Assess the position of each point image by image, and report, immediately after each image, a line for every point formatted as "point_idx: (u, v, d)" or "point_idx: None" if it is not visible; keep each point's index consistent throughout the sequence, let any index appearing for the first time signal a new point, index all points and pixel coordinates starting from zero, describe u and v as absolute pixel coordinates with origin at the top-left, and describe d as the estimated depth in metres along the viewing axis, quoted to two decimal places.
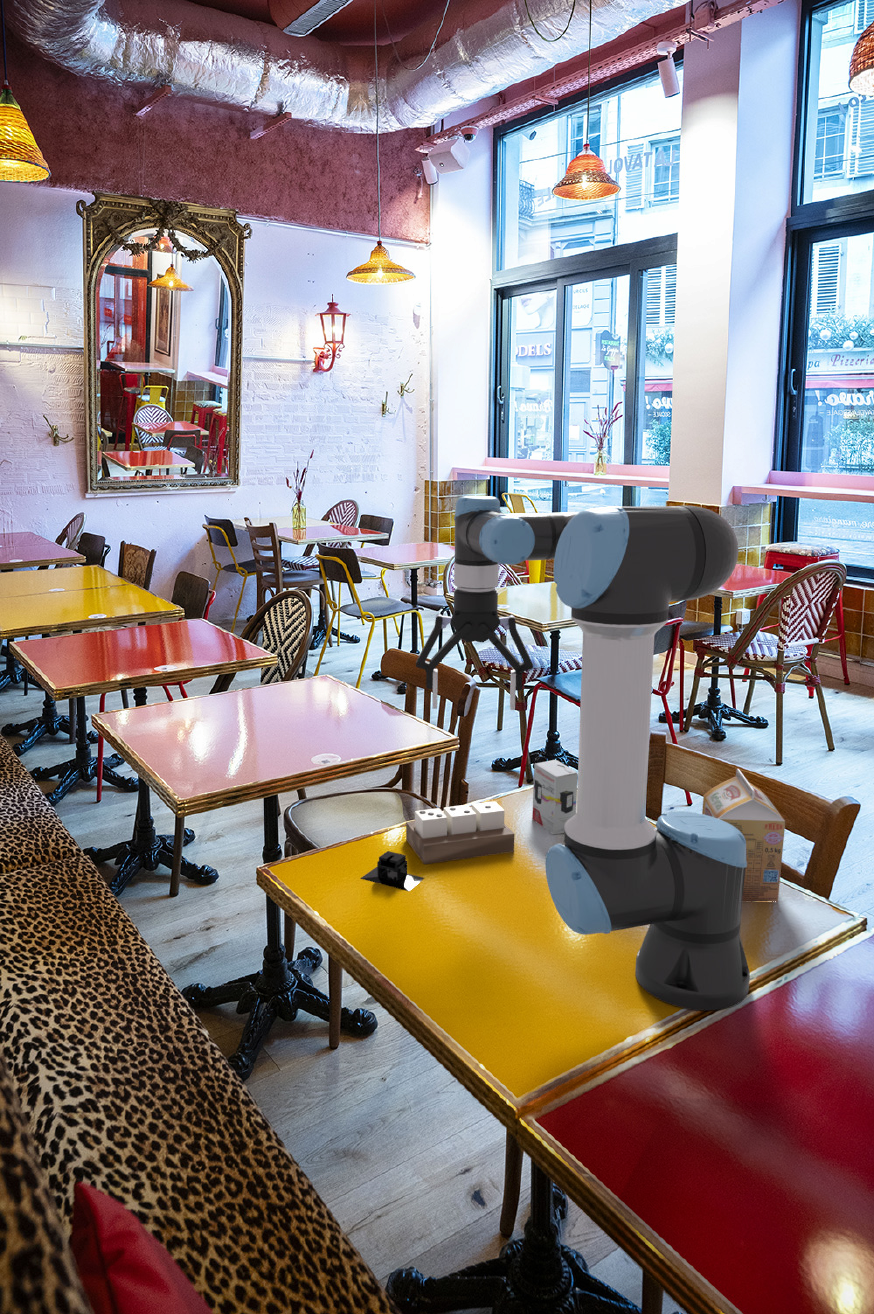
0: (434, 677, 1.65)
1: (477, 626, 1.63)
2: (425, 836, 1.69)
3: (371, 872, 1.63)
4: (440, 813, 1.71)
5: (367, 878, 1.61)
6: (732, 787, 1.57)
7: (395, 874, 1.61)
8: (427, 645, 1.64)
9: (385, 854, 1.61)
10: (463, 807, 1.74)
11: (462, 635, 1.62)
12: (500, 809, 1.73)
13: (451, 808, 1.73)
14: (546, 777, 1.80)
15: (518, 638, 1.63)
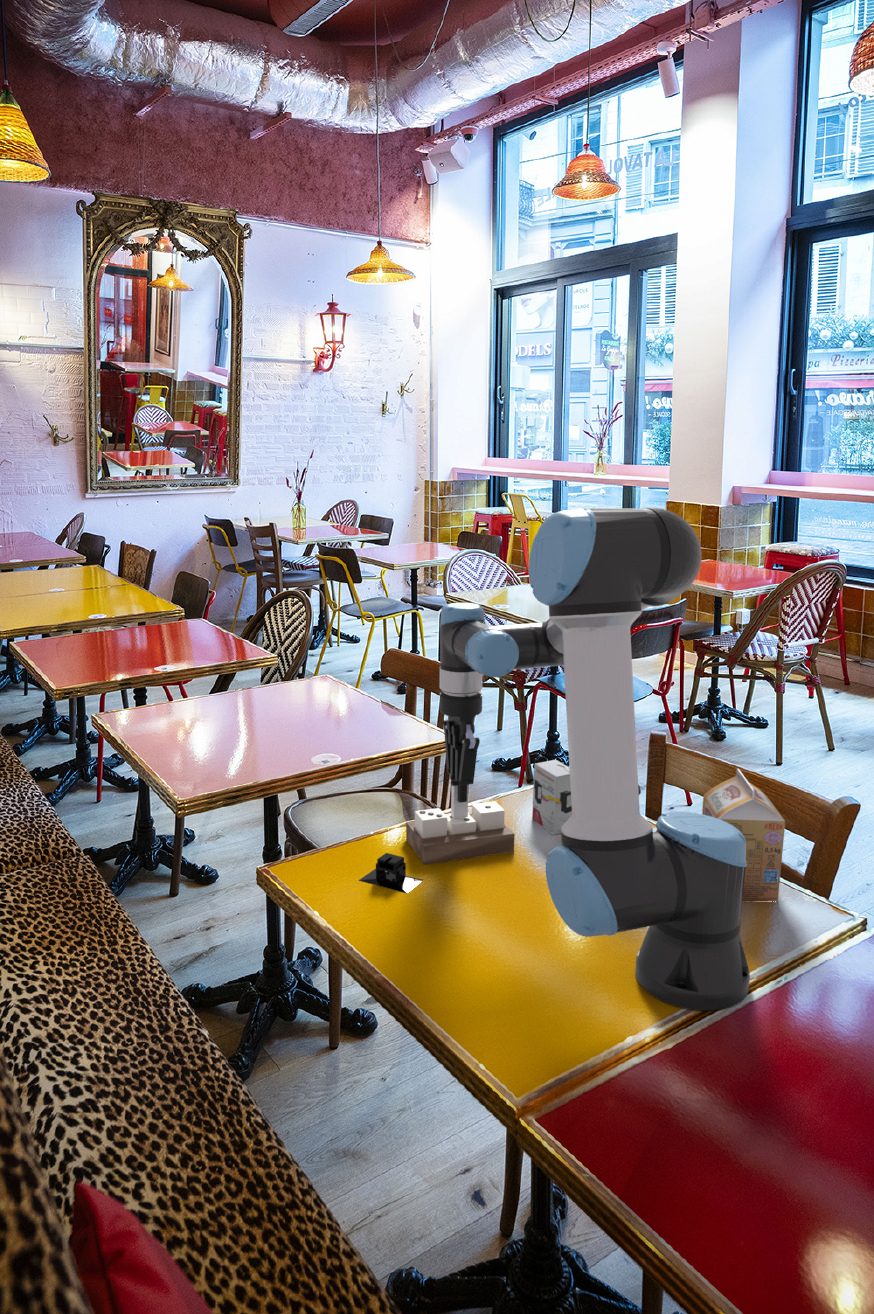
0: (451, 786, 1.72)
1: (455, 724, 1.68)
2: (425, 836, 1.69)
3: (369, 874, 1.62)
4: (440, 813, 1.71)
5: (365, 880, 1.60)
6: (732, 787, 1.57)
7: (394, 876, 1.60)
8: (446, 750, 1.74)
9: (383, 856, 1.60)
10: None
11: (449, 734, 1.70)
12: (500, 809, 1.73)
13: (451, 816, 1.73)
14: (546, 777, 1.80)
15: (463, 757, 1.65)
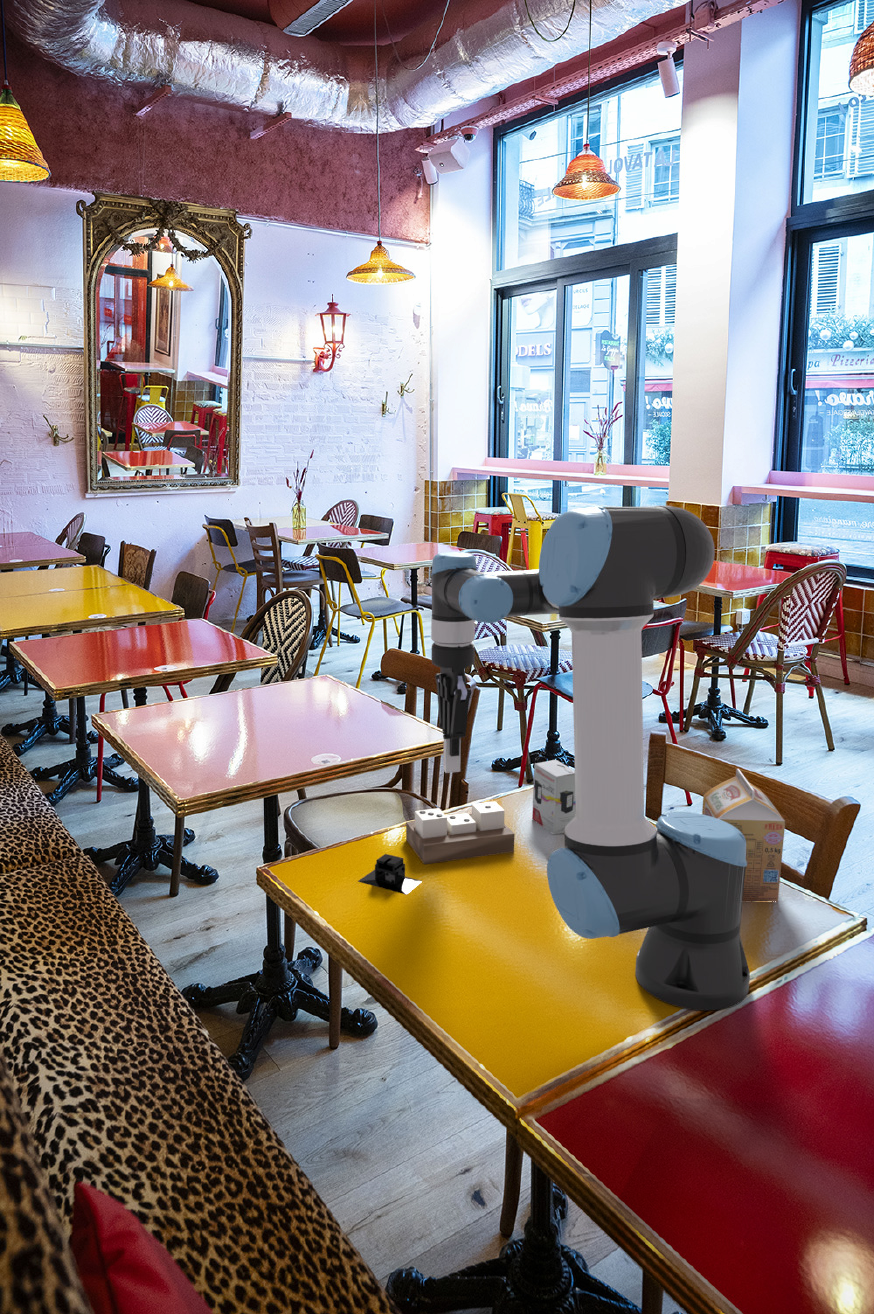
0: (444, 740, 1.69)
1: (447, 676, 1.66)
2: (425, 836, 1.69)
3: (368, 875, 1.62)
4: (440, 813, 1.71)
5: (364, 881, 1.59)
6: (732, 787, 1.57)
7: (393, 877, 1.60)
8: (438, 704, 1.71)
9: (383, 857, 1.60)
10: (463, 816, 1.74)
11: (441, 687, 1.67)
12: (500, 809, 1.73)
13: (451, 817, 1.73)
14: (546, 777, 1.80)
15: (454, 708, 1.63)
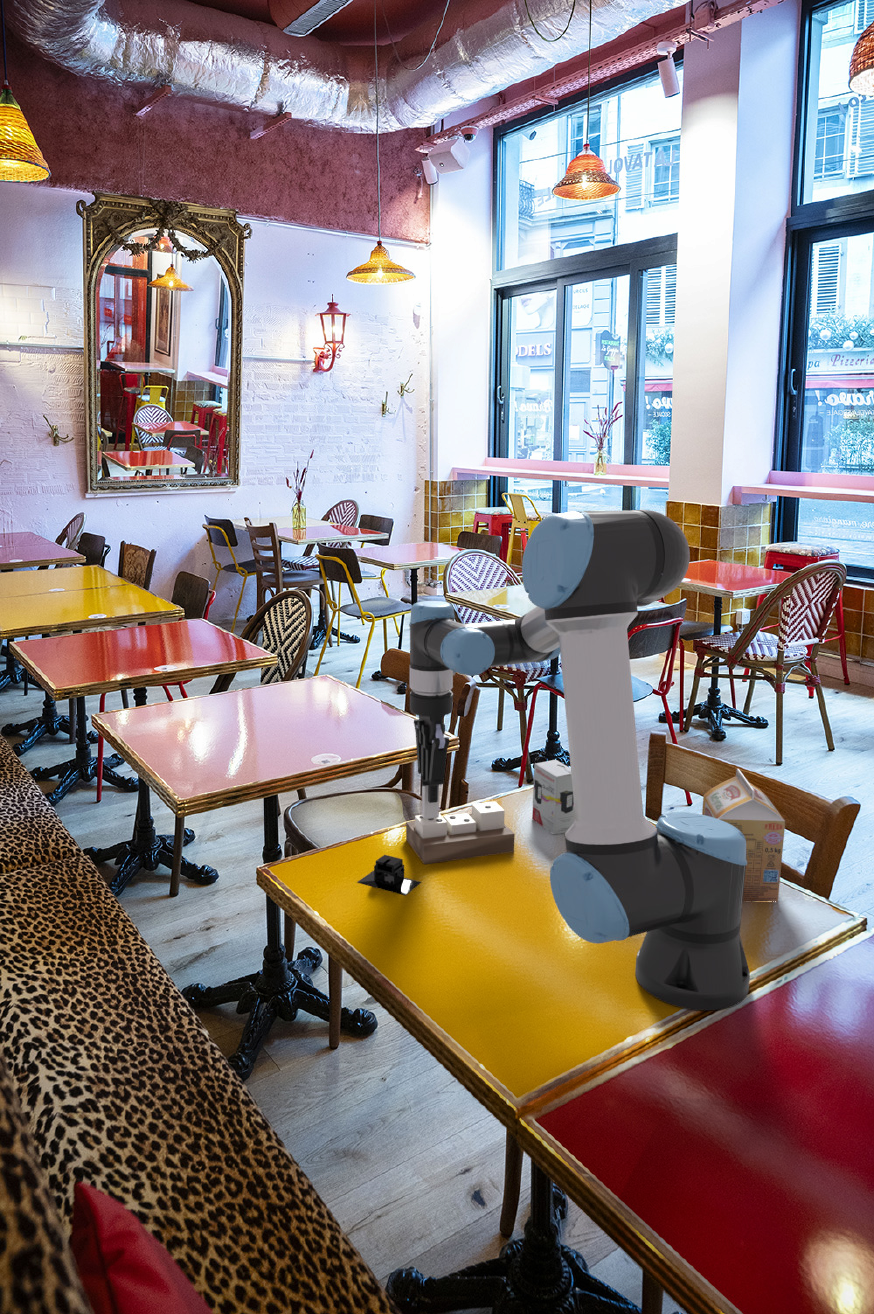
0: (422, 787, 1.70)
1: (426, 723, 1.66)
2: None
3: (367, 876, 1.62)
4: (440, 818, 1.71)
5: (363, 882, 1.59)
6: (732, 787, 1.57)
7: (392, 878, 1.60)
8: (417, 749, 1.72)
9: (382, 858, 1.59)
10: (463, 816, 1.74)
11: (420, 734, 1.68)
12: (500, 809, 1.73)
13: (451, 817, 1.73)
14: (546, 777, 1.80)
15: (432, 757, 1.63)
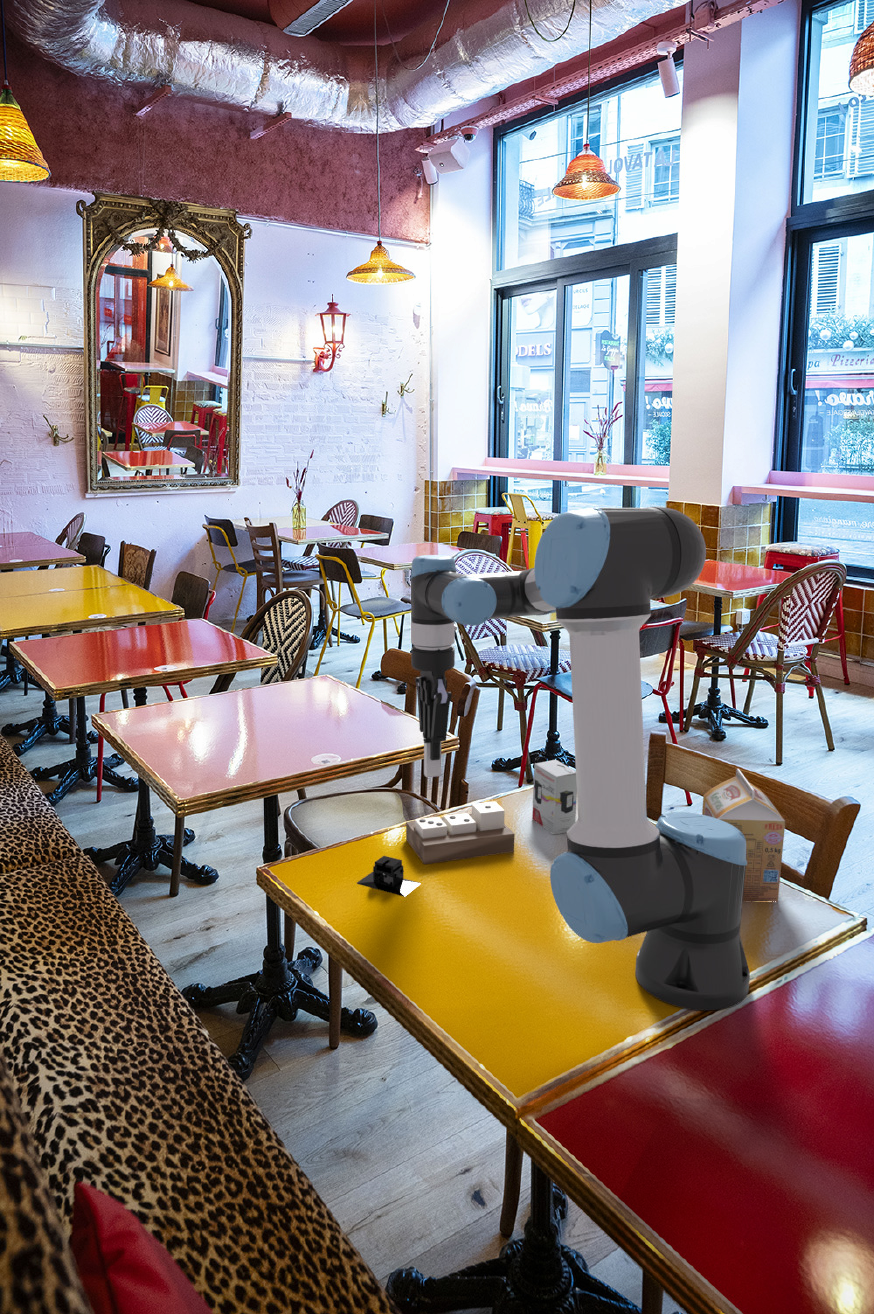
0: (424, 744, 1.68)
1: (427, 679, 1.64)
2: None
3: (367, 877, 1.61)
4: (440, 822, 1.71)
5: (362, 883, 1.59)
6: (732, 787, 1.57)
7: (391, 879, 1.59)
8: (418, 708, 1.70)
9: (381, 859, 1.59)
10: (463, 816, 1.74)
11: (421, 690, 1.66)
12: (500, 809, 1.73)
13: (451, 817, 1.73)
14: (546, 777, 1.80)
15: (434, 712, 1.62)
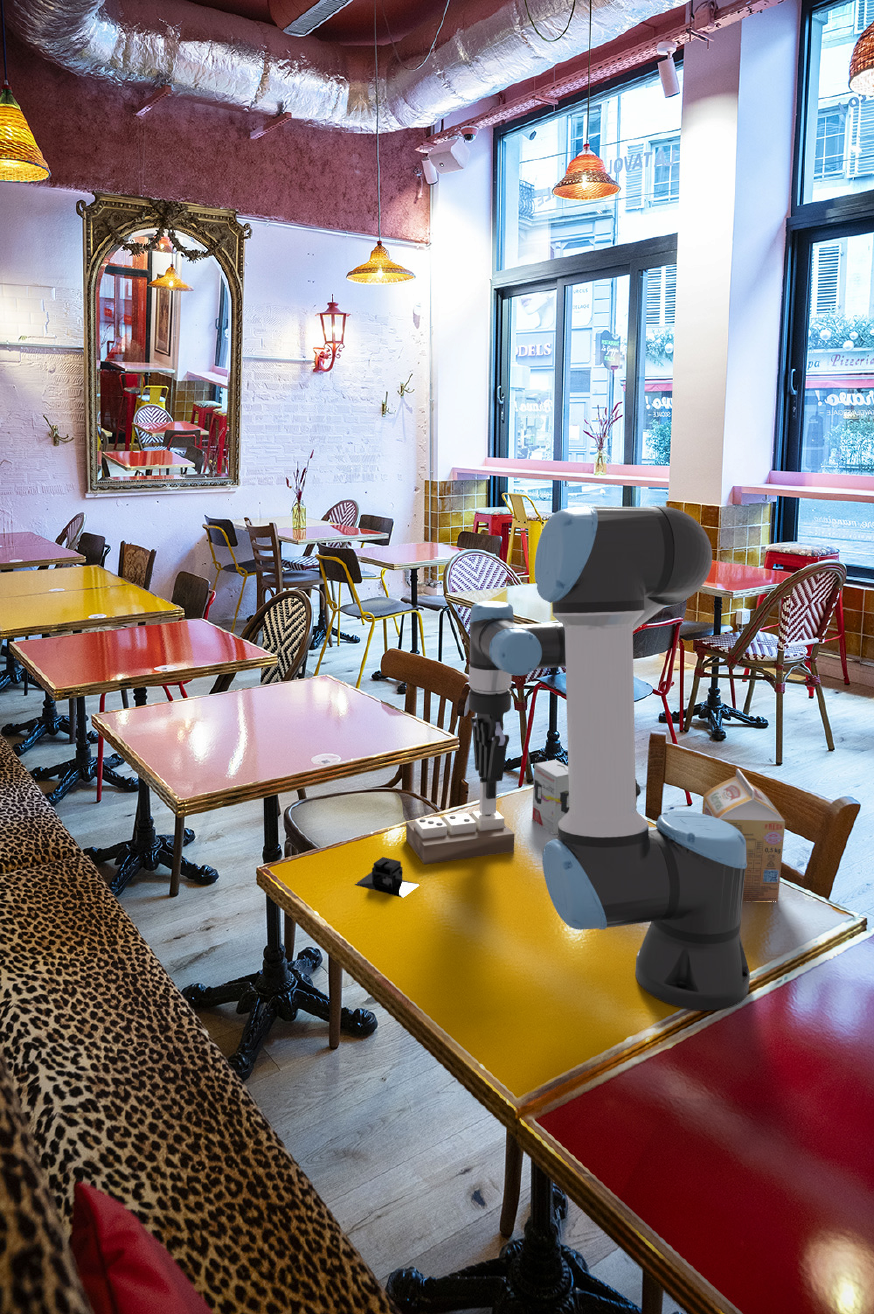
0: (480, 783, 1.73)
1: (484, 721, 1.70)
2: None
3: (365, 878, 1.61)
4: (440, 822, 1.71)
5: (361, 885, 1.58)
6: (732, 787, 1.57)
7: (390, 880, 1.59)
8: (474, 747, 1.76)
9: (380, 860, 1.58)
10: (463, 816, 1.74)
11: (478, 731, 1.71)
12: (499, 817, 1.74)
13: (451, 817, 1.73)
14: (546, 777, 1.80)
15: (492, 754, 1.67)
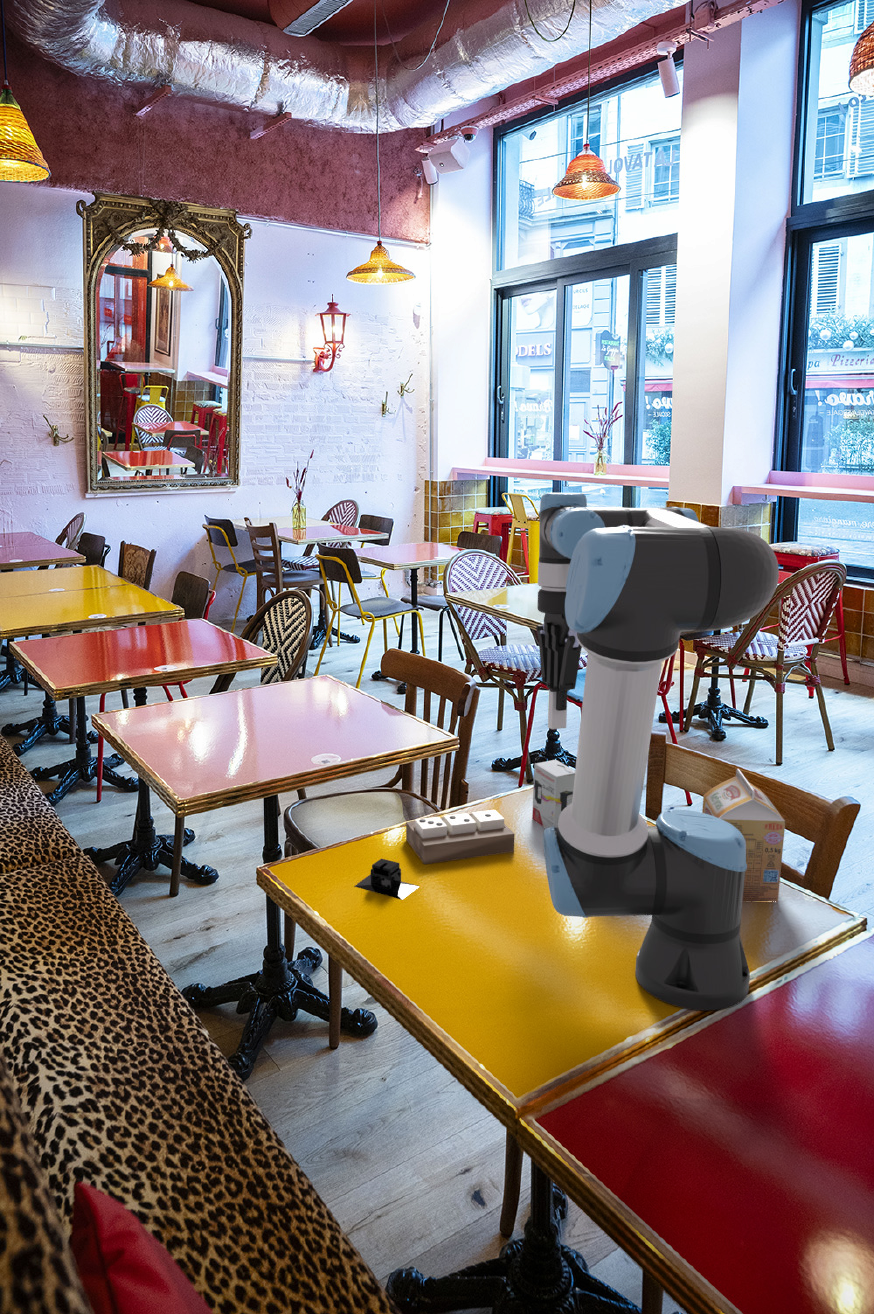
0: (549, 694, 1.59)
1: (555, 624, 1.56)
2: None
3: (364, 879, 1.60)
4: (440, 822, 1.71)
5: (360, 886, 1.58)
6: (732, 787, 1.57)
7: (389, 882, 1.58)
8: (540, 657, 1.62)
9: (379, 862, 1.58)
10: (463, 816, 1.74)
11: (547, 636, 1.58)
12: (499, 817, 1.74)
13: (451, 817, 1.73)
14: (546, 777, 1.80)
15: (566, 657, 1.53)
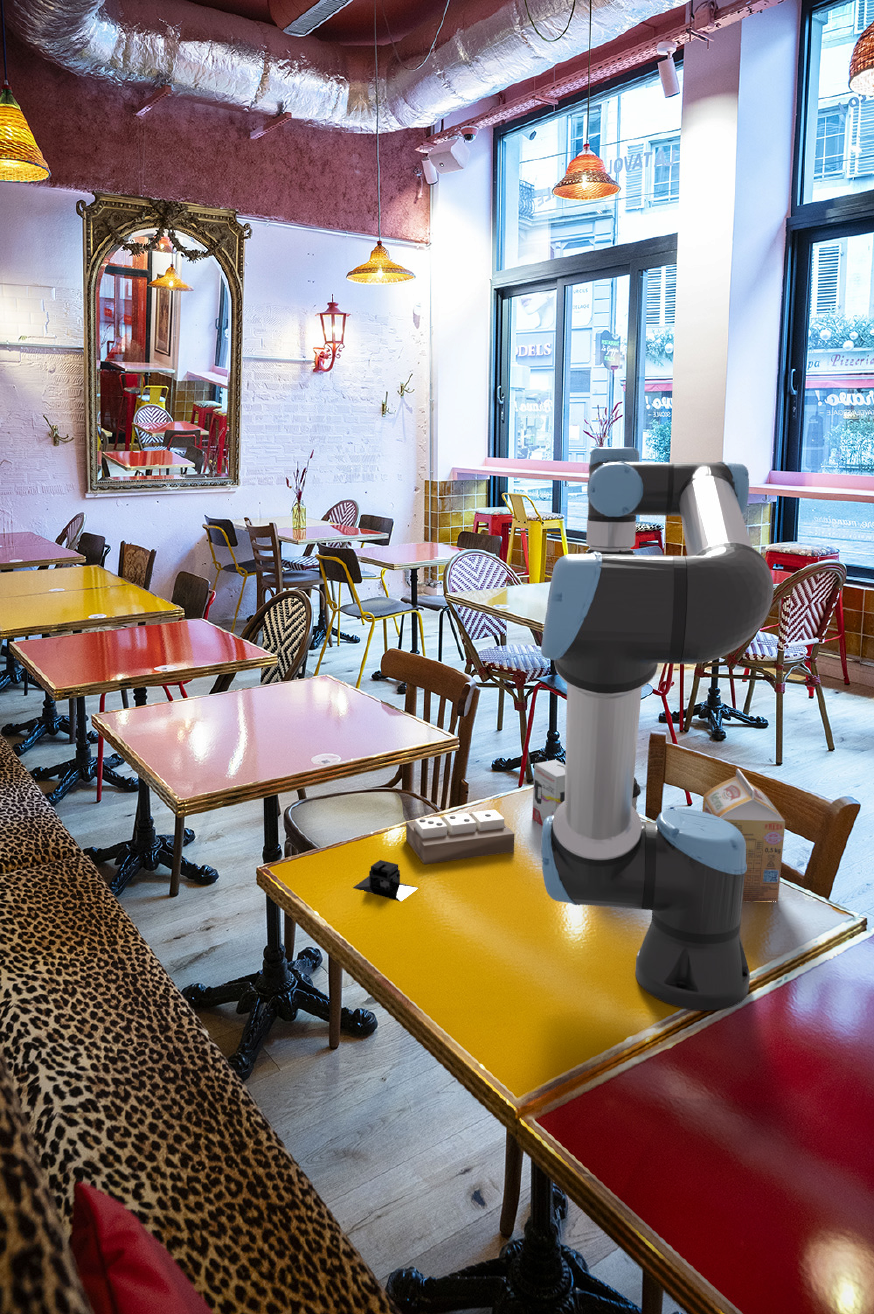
0: None
1: None
2: None
3: (363, 881, 1.60)
4: (440, 822, 1.71)
5: (358, 888, 1.57)
6: (732, 787, 1.57)
7: (387, 883, 1.58)
8: None
9: (377, 863, 1.57)
10: (463, 816, 1.74)
11: None
12: (499, 817, 1.74)
13: (451, 817, 1.73)
14: (546, 777, 1.80)
15: None
